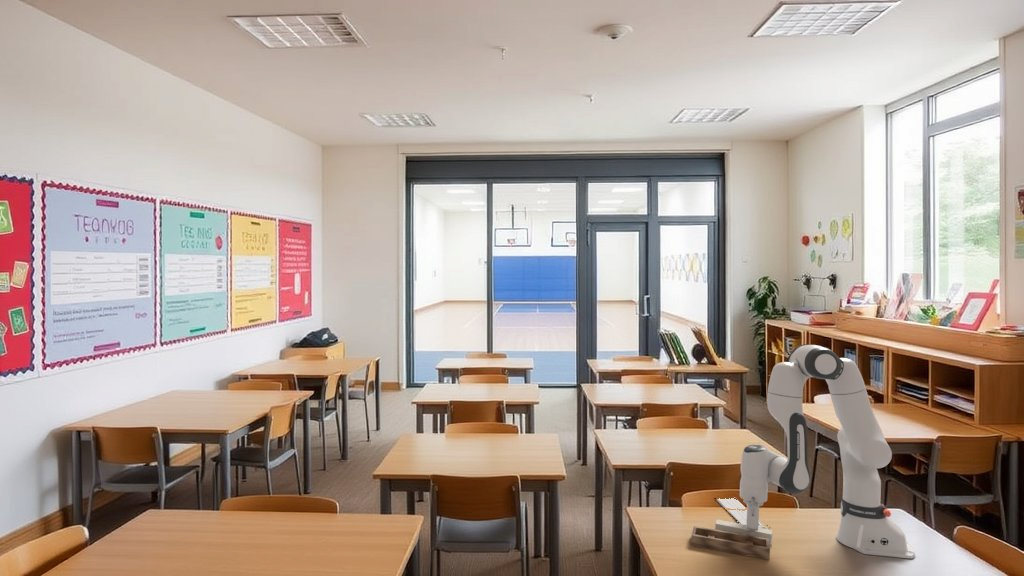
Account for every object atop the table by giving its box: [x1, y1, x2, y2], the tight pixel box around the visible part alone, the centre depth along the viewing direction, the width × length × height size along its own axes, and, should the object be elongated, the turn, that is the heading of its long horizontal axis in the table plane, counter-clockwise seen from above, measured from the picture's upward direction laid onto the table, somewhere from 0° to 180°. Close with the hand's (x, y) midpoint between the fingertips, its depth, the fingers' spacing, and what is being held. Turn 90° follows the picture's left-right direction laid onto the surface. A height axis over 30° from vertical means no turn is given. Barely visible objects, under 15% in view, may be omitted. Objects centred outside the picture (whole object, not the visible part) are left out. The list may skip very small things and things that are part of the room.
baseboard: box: [716, 497, 771, 530], centre depth 226 cm, size 30×3×10 cm
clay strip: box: [714, 519, 773, 546], centre depth 204 cm, size 18×4×4 cm, turn 64°
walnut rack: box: [690, 525, 771, 561], centre depth 196 cm, size 24×8×4 cm, turn 68°
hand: (751, 533), depth 203 cm, fingers closed on clay strip, 4 cm apart
